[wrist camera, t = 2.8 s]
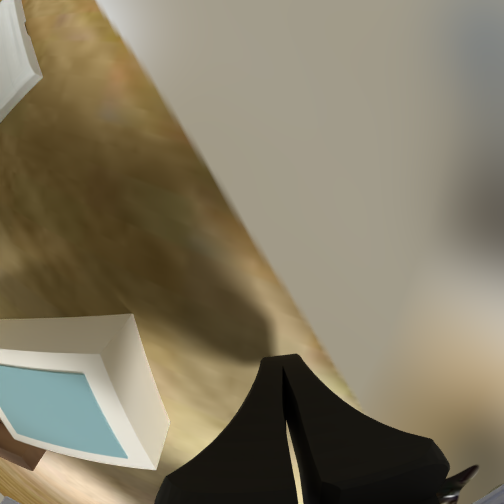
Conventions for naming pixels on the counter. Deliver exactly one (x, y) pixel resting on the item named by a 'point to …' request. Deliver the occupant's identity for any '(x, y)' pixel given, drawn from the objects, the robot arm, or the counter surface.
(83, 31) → the counter surface
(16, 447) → the frame
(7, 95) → the external hard drive
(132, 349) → the card box
